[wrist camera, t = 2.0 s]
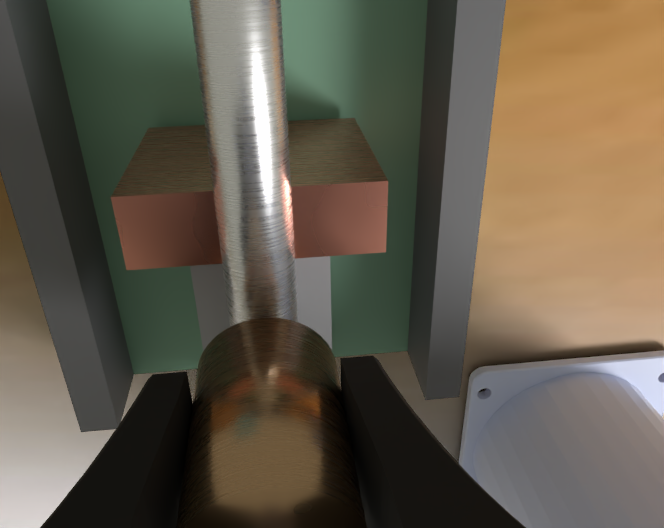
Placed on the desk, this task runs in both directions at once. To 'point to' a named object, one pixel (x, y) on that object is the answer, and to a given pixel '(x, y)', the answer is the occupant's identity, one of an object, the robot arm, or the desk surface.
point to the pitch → (186, 110)
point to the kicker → (257, 274)
